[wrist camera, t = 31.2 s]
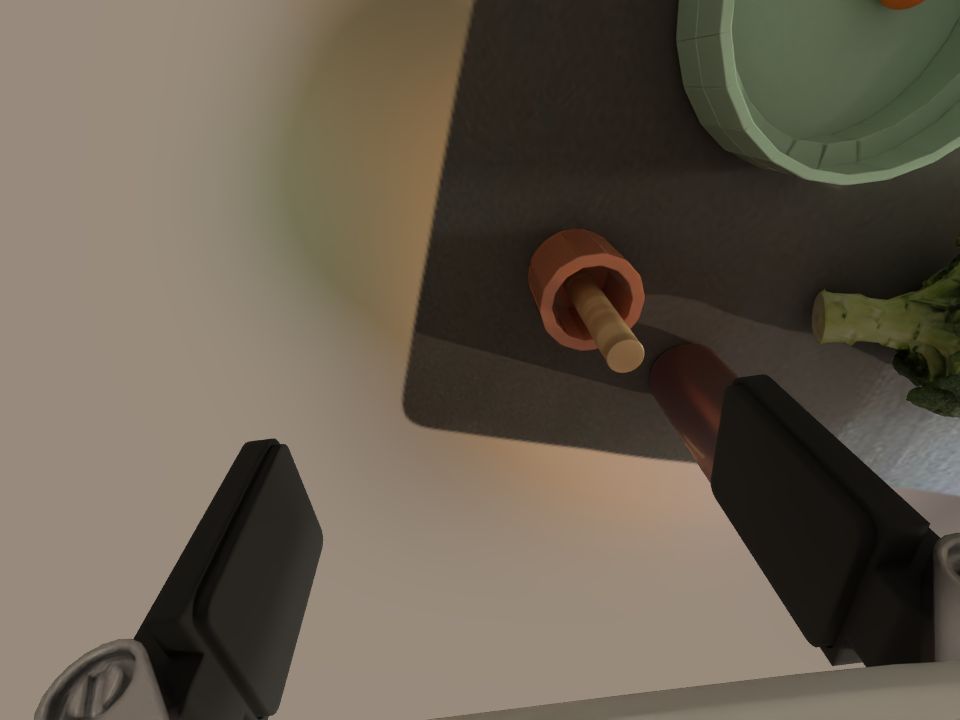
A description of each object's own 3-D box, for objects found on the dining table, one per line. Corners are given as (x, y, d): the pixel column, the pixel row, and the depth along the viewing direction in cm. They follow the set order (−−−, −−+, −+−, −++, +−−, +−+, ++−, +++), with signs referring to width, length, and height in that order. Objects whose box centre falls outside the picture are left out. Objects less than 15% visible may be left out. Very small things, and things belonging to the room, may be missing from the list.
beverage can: (724, 382, 42) (848, 517, 29) (658, 411, 43) (749, 553, 30) (706, 328, 39) (834, 449, 26) (636, 360, 40) (725, 492, 27)
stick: (560, 266, 36) (606, 342, 25) (587, 262, 36) (645, 337, 25) (561, 292, 37) (606, 375, 26) (587, 288, 37) (643, 370, 26)
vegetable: (853, 199, 33) (1176, 209, 27) (800, 270, 44) (1017, 286, 39) (831, 376, 31) (1170, 424, 26) (782, 401, 43) (1006, 437, 37)
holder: (523, 235, 35) (536, 261, 30) (617, 222, 35) (647, 247, 29) (529, 319, 38) (542, 356, 33) (616, 307, 38) (642, 343, 33)
